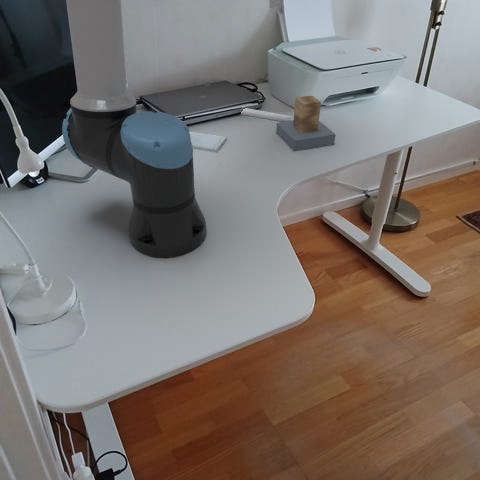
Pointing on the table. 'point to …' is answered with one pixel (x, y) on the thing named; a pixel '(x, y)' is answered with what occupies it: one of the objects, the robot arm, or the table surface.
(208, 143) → the hard drive
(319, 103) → the oak block
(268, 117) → the marker
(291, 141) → the grey base
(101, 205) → the table surface
